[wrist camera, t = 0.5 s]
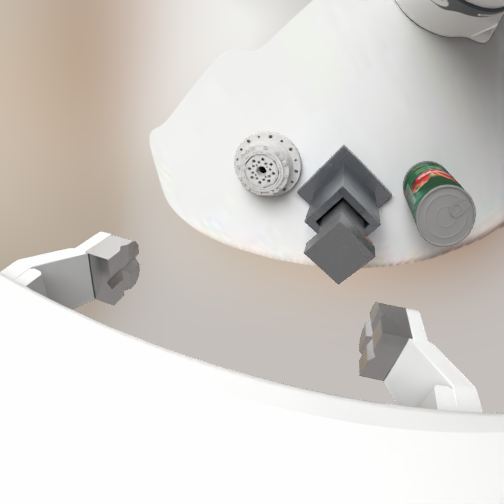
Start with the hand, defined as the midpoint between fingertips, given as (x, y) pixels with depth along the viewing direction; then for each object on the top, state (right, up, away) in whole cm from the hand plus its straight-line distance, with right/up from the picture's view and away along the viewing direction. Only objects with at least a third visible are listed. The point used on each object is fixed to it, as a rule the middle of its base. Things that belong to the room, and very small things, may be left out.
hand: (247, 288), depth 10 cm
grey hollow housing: (+14, +10, +35) cm, 39 cm away
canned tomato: (+26, +11, +30) cm, 41 cm away
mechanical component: (+3, +15, +36) cm, 39 cm away
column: (+13, +10, +34) cm, 37 cm away
